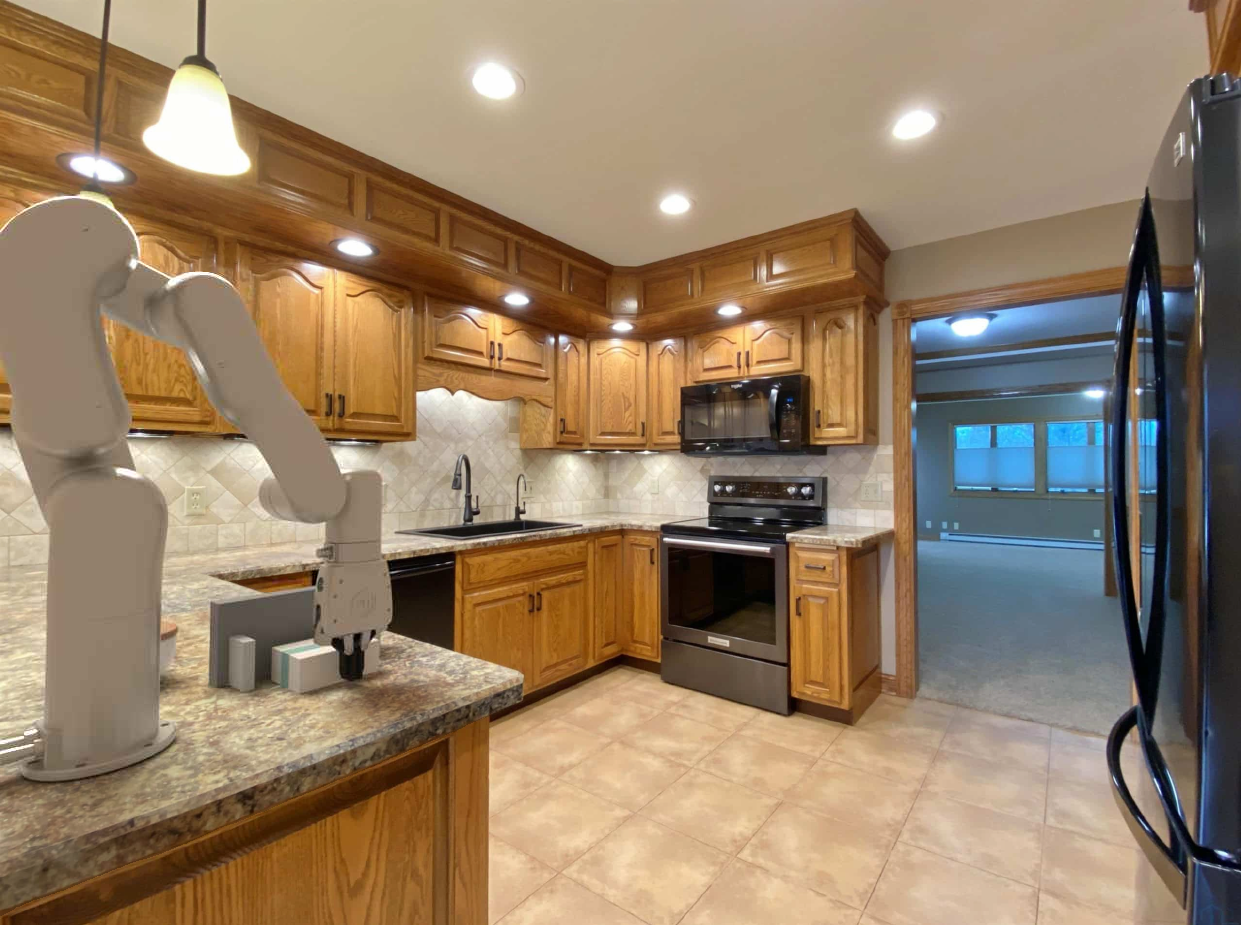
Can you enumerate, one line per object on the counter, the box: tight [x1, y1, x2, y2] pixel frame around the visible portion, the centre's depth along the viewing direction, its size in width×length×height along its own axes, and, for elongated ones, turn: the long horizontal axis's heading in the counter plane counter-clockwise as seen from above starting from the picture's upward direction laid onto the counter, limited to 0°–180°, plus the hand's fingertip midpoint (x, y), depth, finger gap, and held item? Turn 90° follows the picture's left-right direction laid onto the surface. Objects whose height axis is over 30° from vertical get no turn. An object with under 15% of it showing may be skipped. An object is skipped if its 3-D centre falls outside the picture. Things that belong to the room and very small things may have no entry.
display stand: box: [208, 585, 382, 693], centre depth 92 cm, size 24×8×12 cm, turn 144°
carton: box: [270, 638, 380, 695], centre depth 88 cm, size 12×9×5 cm
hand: (351, 678), depth 84 cm, fingers closed
